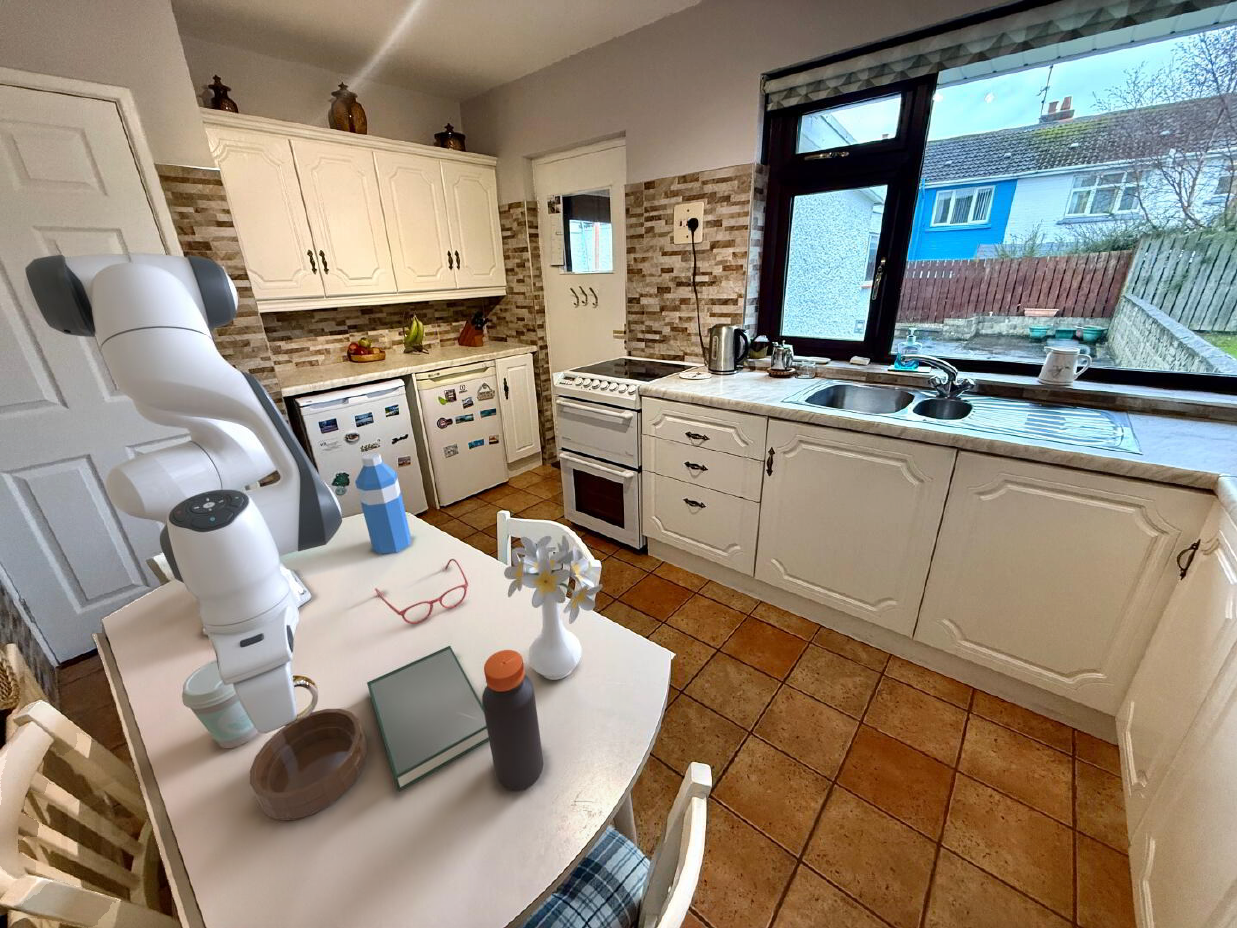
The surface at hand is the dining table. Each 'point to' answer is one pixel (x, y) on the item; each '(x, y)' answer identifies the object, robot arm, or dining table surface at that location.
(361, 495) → the water bottle
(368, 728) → the dining table surface
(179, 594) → the dining table surface
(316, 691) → the ring
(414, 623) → the red eyeglasses
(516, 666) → the vinegar
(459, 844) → the dining table surface
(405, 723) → the book
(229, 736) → the coffee cup
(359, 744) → the bowl
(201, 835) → the dining table surface
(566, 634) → the flower vase
